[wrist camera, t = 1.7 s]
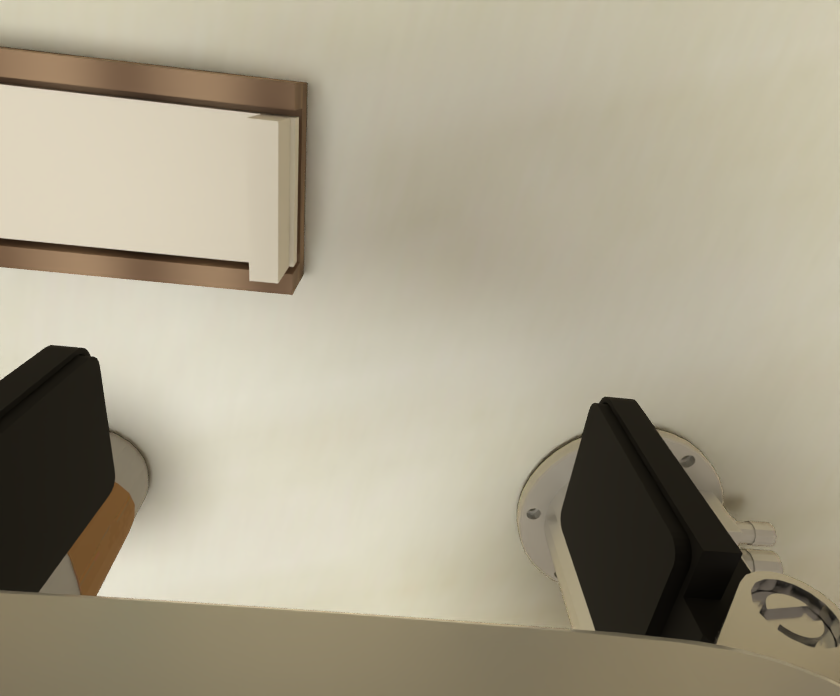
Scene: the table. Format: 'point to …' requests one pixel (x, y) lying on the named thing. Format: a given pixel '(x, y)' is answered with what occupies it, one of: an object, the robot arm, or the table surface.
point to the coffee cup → (104, 527)
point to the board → (168, 88)
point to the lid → (149, 177)
